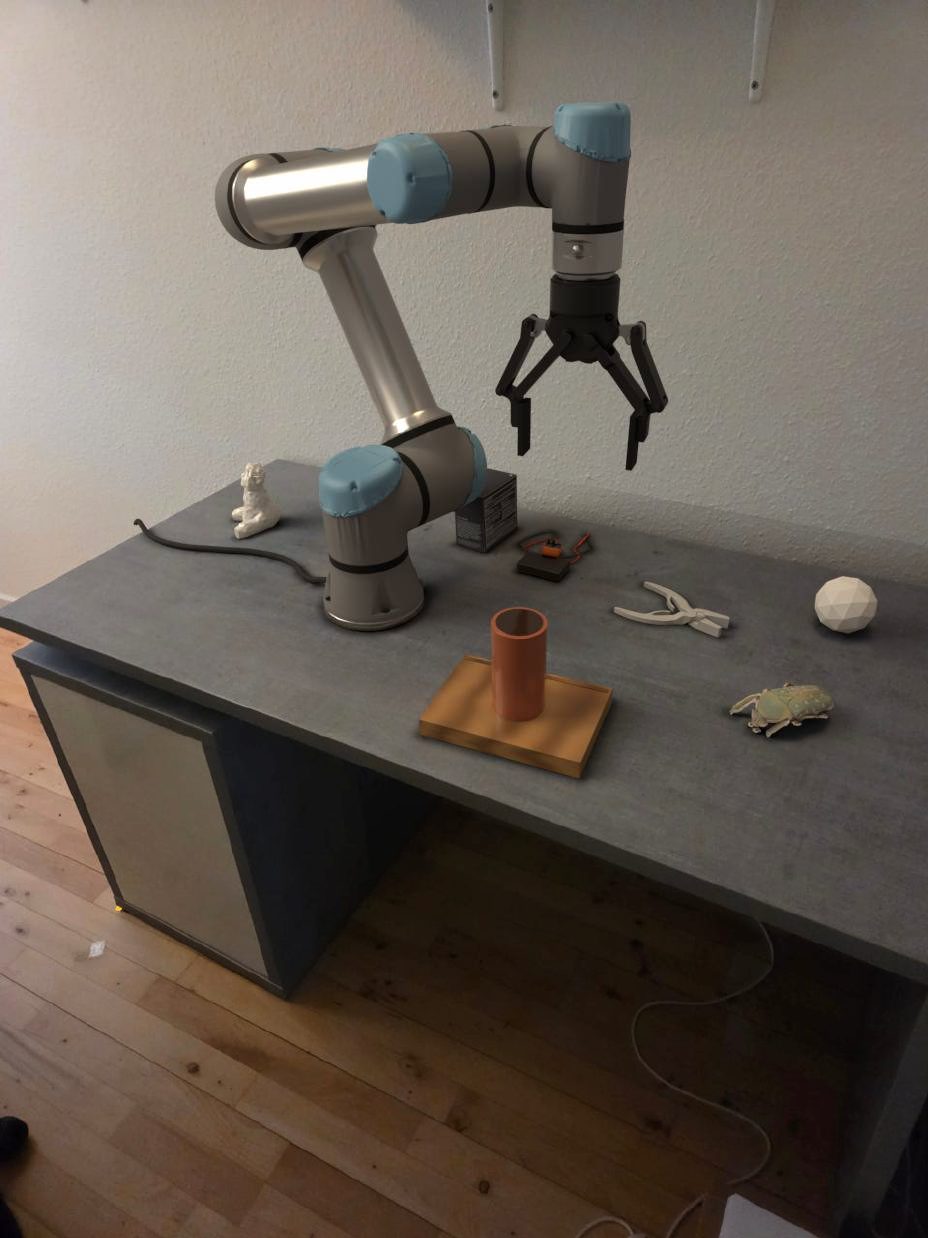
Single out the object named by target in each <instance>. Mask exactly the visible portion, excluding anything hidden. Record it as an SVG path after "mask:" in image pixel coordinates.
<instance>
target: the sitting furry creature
mask: <svg viewBox="0 0 928 1238" xmlns="http://www.w3.org/2000/svg"><path fill="white" fill-rule="evenodd" d="M240 476H241V479H240V486H241V487H243V489H244V490H243V496H242V501H243V506H239V507H237V508H235V509H233V510H232V512H231V518H232V520H233V521H236V522H240V523H238V524H237V525H236V526H235V527H234V528H233V531H234V535H235V537H236V539H238V540H239V539H246V538H249V537H252V536H254V535H256V534H258V533H261V532H264V531H265V530H268V529H271V528H273V527H275V525H276V524H277V523H278V521H280V517H281V510H280V507H279V505H278V504H277V502H275V501H274V500H273V499H272V498H271V497H270V496H269V494H268V492H267V491H268V490H267V488H265V487H264V484H265V479H266V471H265V469H264V468H263V466H262V464H261V462H260V461H257V462H255V463H254V462H252V461H250V462H248V463H247V464H245V471H244V472H243V473H241V474H240Z"/></svg>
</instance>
